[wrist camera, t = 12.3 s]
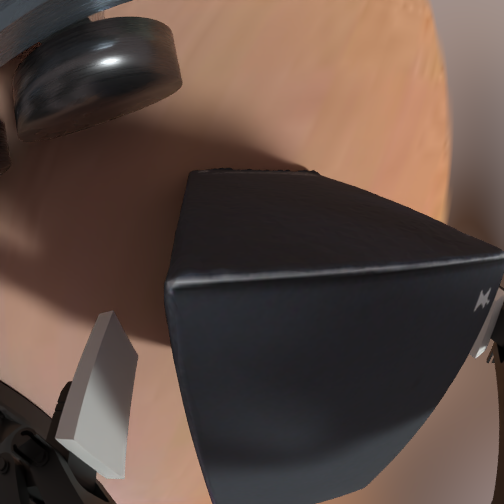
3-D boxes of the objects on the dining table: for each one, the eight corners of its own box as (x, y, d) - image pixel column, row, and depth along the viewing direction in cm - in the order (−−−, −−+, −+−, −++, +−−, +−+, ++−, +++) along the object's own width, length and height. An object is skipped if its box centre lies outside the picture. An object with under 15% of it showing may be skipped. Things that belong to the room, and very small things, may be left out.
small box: (179, 167, 12) (124, 265, 2) (316, 169, 13) (519, 242, 4) (191, 355, 16) (212, 526, 6) (296, 344, 17) (372, 487, 7)
